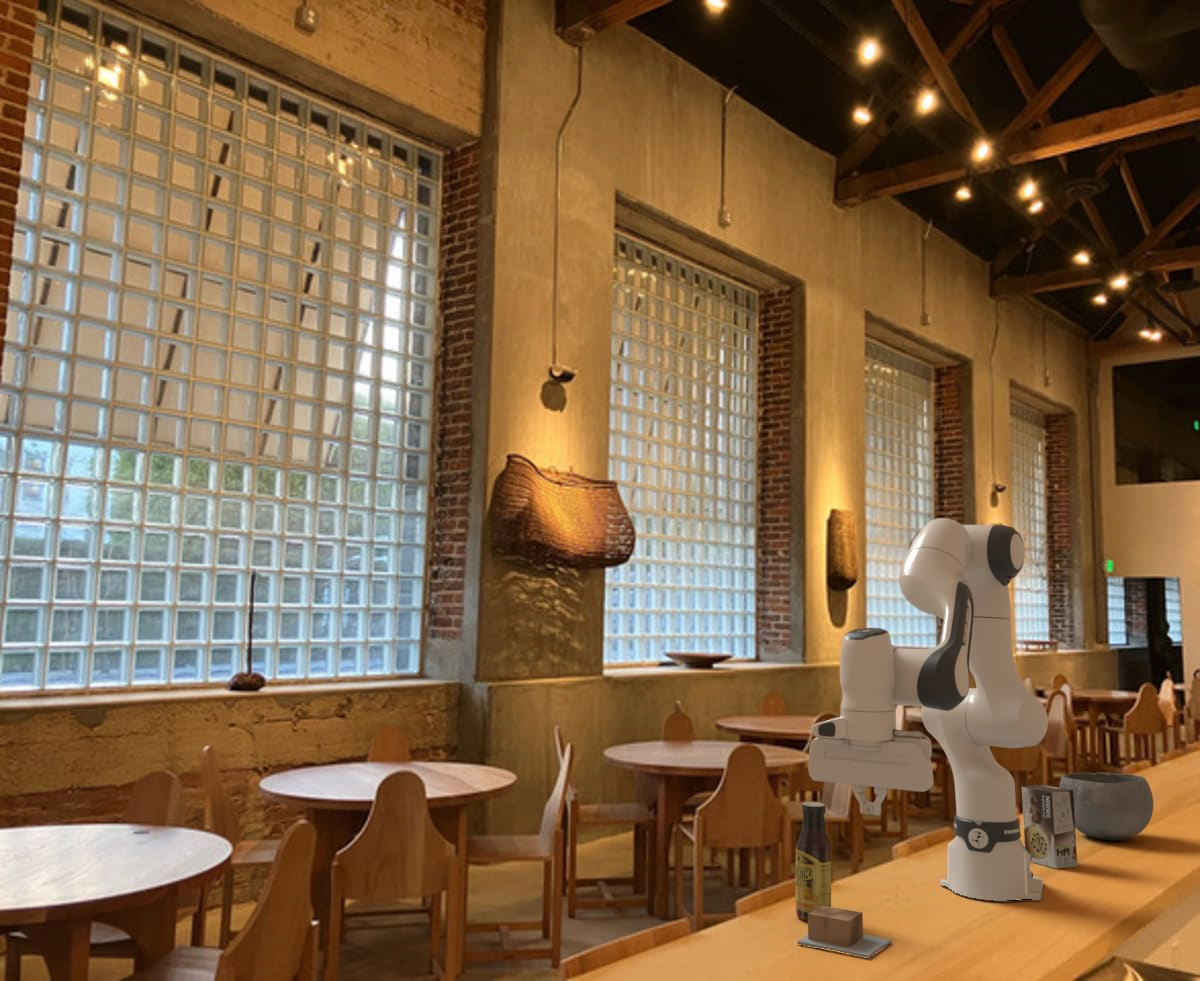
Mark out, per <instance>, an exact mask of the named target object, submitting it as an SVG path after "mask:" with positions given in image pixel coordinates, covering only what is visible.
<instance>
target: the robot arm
mask: <svg viewBox="0 0 1200 981" xmlns="http://www.w3.org/2000/svg"><path fill="white" fill-rule="evenodd" d="M1024 562H1025V546H1024V542H1023V538H1022V536H1021V534H1020V532H1018V531H1017V529H1015V528H1014V527H1012V526H1008V525H1003V524H994V525H990V524H989V525H988V524H961V523H960V522H958V521H956V520H954V519H952V518H947V517H945V518H944V517H940V518H939V517H938V518H934V519H931V520H930V521H928V522H927V523H926V524H925V525H924V526H923V527H922V528H921V530H920V531H918V532H916V533H915V535H914V536H913V537H912V538H911V540H910V542H909V545H908V551H907V553H906V555H905V557H904V559H903V561H902V564H901V567H900V570H899V575H898V584H899V589H900V590H901V593H902V595H903V596H904V598H905V599H906V601H908V603H909V604H911V605H912V606H913V607H914V608H915V609H917V610H919V611H921V612H923V613H925V614H927V615H931V616H935V617H938V618H941V619H943V623H942V630H941V638H940V642H939V644H937V645H935V646H933V647H930V648H928V647H927V648H905V647H904V648H902V647H897V646H896V645H893V644H892V640H891V635H890V632H889V631H888V630H886V629H884V628H878V627H863V628H856V629H852V630H849V631H848V632H846V633H845V634H844V635H843V637H842V641H841V645H840V647H841V648H840V654H839V656H840V657H839V685H840V688H841V691H842V692H841V693H842V699H841V701H840V702H841V703H840V707H839V708H840V715H839V716H835V717H831V718H830V719H828V720H825V721H820V722H816V723H815V724H813V726H812V735H813V736H814V737H815V738H813V739H812V741H811V743H810V745H809V753H808V775H809V776H810V778H811V780H812V781H814V782H824V783H835V784H842V785H843V784H844V785H852V794H853V795H854V796H855V798H856V800H857V802H858V803H859V813H860V814H861V815H869V816H876V817H878V816H879V817H880V815H881V814H882V803H883V802H884V800H885V798H886V796H887V794H888V789H891V790H898V791H899V790H901V791H902V790H903V791H910V792H912V791H913V792H920V793H921V792H922V793H923V792H926V791H929V790H930V789H931V788H932V787H933V785H934V781H935V780H934V772H933V771H934V770H933V765H932V759H931V758H932V756H933V743H932V741H931V739H930V738H929V737H928V736H927V735H926V734H923V732H922V731H919V730H913V731H912V730H911V731H910V730H904V729H897V717H896V716H897V714H896V712H897V711H896V705H898V706H909V707H921V710H920V713H921V714H920V715H921V720H922V723H923V726H924V727H925V729H926V731H927V732H928V733H929V734H930V735H931V736H932V737H933V738H934V739H935V740H936V741H937V743H938V744H939V745H940V747H941V748H942V749H943V751H944V754H945V755H946V757H947V760H948V763H949V764H950V767H951V771H952V775H953V781H954V782H953V783H954V792H955V806H956V807H955V809H956V814H955V815H954V821H953V827H954V834H955V835H956V836H955V837H954V838H953V840H951V841H950V842H949V843H948V845H947V865H946V866H947V874H946V876H947V877H944V878H941V879H940V881H939V886H941V885H943V886H946V887H948V888H947V889H949V890H950V889H951V890H952V892H953V891H954V892H953V893H954V894H957V893H958V894H957V895H959V894H960V895H959V896H962V895H963V896H962V897H966V896H967V897H968V898H969V899H970V898H971V899H975V898H976V899H977V900H982V899H983V900H984V901H990V900H991V901H992V900H993V901H994V902H1008V901H1007V900H1016V899H1032V900H1031V901H1041V900H1042V896H1043V895H1042V894H1043V889H1044V888H1043V887H1044V881H1043V878H1041V877H1039V876H1035V875H1034V872H1033V871H1032V870H1031V862H1030V856H1029V853H1028V851H1027V850H1026V848H1025V844H1023V841H1022V840H1021V837H1022V835H1021V834H1022V833H1021V819H1020V818H1021V817H1020V816H1017V804H1016V803H1017V802H1016V800H1017V799H1016V784H1015V780H1014V778H1013V775H1012V774H1011V773H1010V772H1009V771H1008V770H1007V769H1006V768H1005V767H1003V766H1002V765H1001V764H999V763H998V762H997V760H996V759H995V757H994V756H993V754H992V750H991V748H990V747H996V748H997V747H998V748H1006V749H1017V748H1018V749H1019V748H1028V747H1035V746H1037V745H1038V744H1040V743H1041V741H1042V740H1043V739H1044V737H1045V736H1046V734H1047V732H1048V727H1049V719H1048V713H1047V711H1046V708H1045V706H1044V704H1043V703H1042V701H1041V700H1040V699H1039V698H1037V697H1036V695H1034V693H1032V692H1031V691H1030V690H1029V689H1028V687H1027V686H1026V685H1025V683H1024V682H1023V680H1022V679H1021V676H1020V675H1019V672H1018V669H1017V666H1016V663H1015V659H1014V653H1013V652H1014V651H1013V636H1012V634H1013V633H1012V629H1013V628H1012V606H1011V604H1012V603H1011V597H1010V595H1011V594H1010V590H1009V584H1010V583H1011V580H1013V579H1014V578H1016V576H1018V574H1019V573H1020V572H1021V570H1022V569H1023V566H1024ZM970 672H971V674H972V676H973V679H974V681H975V686H976V687H970ZM866 787H873V788H874V789H873V790H874V795H877V796H876V797H875V800H874V801H873V802H872V801H868V799H867V797H866V795H865V793H864V791H866V790H867V788H866ZM943 886H942V887H943ZM946 887H945V888H946ZM951 890H950V891H951ZM993 901H992V902H993Z"/></svg>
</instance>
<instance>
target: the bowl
mask: <svg viewBox="0 0 1200 981" xmlns="http://www.w3.org/2000/svg"><path fill="white" fill-rule="evenodd" d="M1058 787H1059V788H1064V789H1070V790H1074V792H1073V794H1074V813H1075V830H1078V832H1080V833H1082V834H1084V835H1086V836H1088V837H1091V838H1095V839H1099V840H1106V841H1126V840H1128V839H1131V838H1133V837H1135V836H1137V835H1138V834H1140V833H1142V831H1144V830H1145V828H1146V827H1147V826H1148V824H1149V823H1150V821H1151V819H1152V817H1153V812H1154V797H1153V792H1152V789H1151V787H1150V784H1149V782H1148V780H1147V779H1146V778H1145V777H1143V776H1140V775H1135V774H1127V773H1113V772H1102V771H1100V772H1099V771H1097V772H1095V773H1094V772H1070V773H1067V774H1065V775H1062V776H1061V778H1060V782H1059V786H1058Z"/></svg>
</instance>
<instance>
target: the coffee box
mask: <svg viewBox="0 0 1200 981" xmlns="http://www.w3.org/2000/svg"><path fill="white" fill-rule="evenodd" d="M1073 792H1074V790H1070V789H1064V788H1059V786H1058V787H1057V786H1053V785H1047V784H1032V785H1027V786H1023V785H1022V786H1021V797H1022V798H1021V799H1022V800H1021V801H1022V816H1023V832H1024V833H1023V835H1024V837H1023V838H1024V847H1025V848H1026V850H1027V851H1028V853H1029V856H1030V863H1035V864H1036V865H1037V864H1038V865H1041V866H1045V867H1049V868H1052V869H1056V870H1059V869H1068V868H1069V869H1070V868H1077V867H1078V856H1077V836H1076V828H1075V813H1074V794H1073Z"/></svg>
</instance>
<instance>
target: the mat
mask: <svg viewBox="0 0 1200 981" xmlns="http://www.w3.org/2000/svg"><path fill="white" fill-rule="evenodd" d="M891 942H892V938H891V939H890V938H886V937H881V936H876V935H870V934H864V933H863V938H862V939H861V940H859V941H858V942H856V943H855V944H853V945H852V946H850V947H845V946H840V945H835V944H830V943H825V942H820V941H815V940H810V939H808V934H807V935H805V936H804V937H802V938H800V939H799V940H797V945H798V944H801V945H805V946H811V947H818V948H824V949H830V950H836V951H840V952H844V953H849V954H852V955H857V956H862V957H867V958H869V957H871V956H872V955H874V954H875V953H876V952H878V951H879V950H881V949H882V948H884V947H885V946H887V945H888V944H890V943H891ZM891 944H892V943H891ZM891 944H890V945H891ZM801 945H800V946H801ZM805 946H804V947H805ZM888 946H889V945H888ZM888 946H887V947H888ZM884 949H885V948H884ZM881 951H882V950H881ZM878 953H879V952H878ZM874 956H875V955H874ZM871 958H872V957H871Z"/></svg>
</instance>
